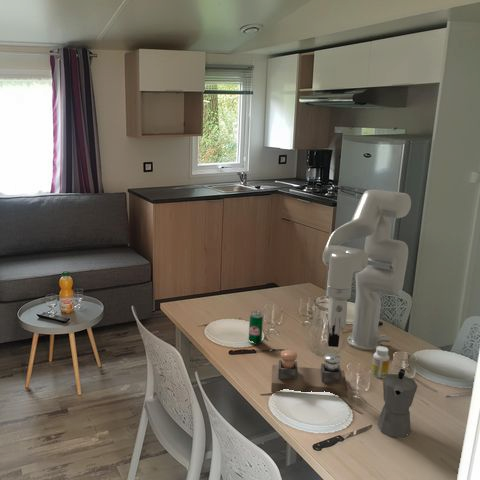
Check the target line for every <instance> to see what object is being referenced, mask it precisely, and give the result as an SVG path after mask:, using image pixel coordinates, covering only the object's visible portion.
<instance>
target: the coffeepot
mask: <svg viewBox="0 0 480 480" xmlns="http://www.w3.org/2000/svg"><path fill="white" fill-rule="evenodd" d="M382 382H383V383H382V387H383V388H382V389H383V401H384V405H383V406H382V408H381V413H380V415H379V418H378V421H377V426H378V429H379V431H380V432H381V433H383V434H384V435H386V436H388V435H389V436H388V437H391V436H392V437H391V438H395V437H403V438H406V437H407V436H406V435H407V434H408V435H410V433H412V431H411V414H410V413H411V412H410V407H412V404H413V402H414V398H415V396H416V392H417V389H418V384H417V383H416V381H415V380H414V378H412V377H409V376H406V370H405V369H404V368H400V369H399V371H398V373H397V374H395V373H388V374H387V376H386V377H384V378H382ZM405 436H406V437H405Z"/></svg>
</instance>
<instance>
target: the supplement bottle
mask: <svg viewBox="0 0 480 480" xmlns="http://www.w3.org/2000/svg"><path fill="white" fill-rule="evenodd" d="M389 366H390V355H389V348H388V347H386V346H381V345H380V346H379V347H377V348H376V349H375V352H374V353H373V357H372V364H371V375H372V376H374V377H376V378H380V379H381V378H382V379H383V378H384V377H386V376H387V375H389Z"/></svg>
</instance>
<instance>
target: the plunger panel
mask: <svg viewBox="0 0 480 480" xmlns="http://www.w3.org/2000/svg"><path fill="white" fill-rule="evenodd" d="M348 388H349V387H348V383H347V378H346V375H345V370H344V369H343V370H342V369H341V365H340V364H338V370H337V372H326V371H325V363H321V365H320V368H315V367H304V366H298V361H296V360H295V363H294V369H288V368H282V359H279V360H278V364H272V369H271V389H270V391H271V392H276V391H280V390H283V389H289V390H294V391H301V392H311V391H312V392H324V391H325V392H330V393H333V394H335V395H338V396H339V397H338V398H348V393H349V389H348ZM276 393H277V392H276Z"/></svg>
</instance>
